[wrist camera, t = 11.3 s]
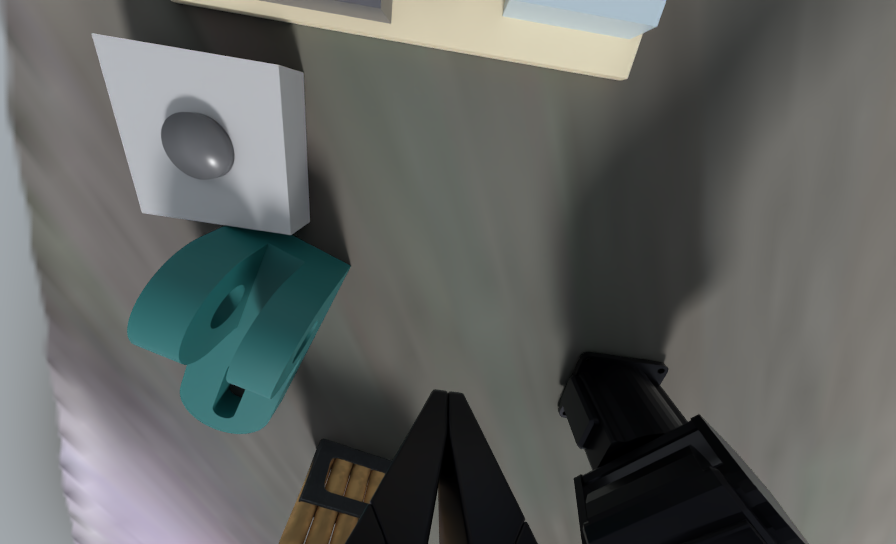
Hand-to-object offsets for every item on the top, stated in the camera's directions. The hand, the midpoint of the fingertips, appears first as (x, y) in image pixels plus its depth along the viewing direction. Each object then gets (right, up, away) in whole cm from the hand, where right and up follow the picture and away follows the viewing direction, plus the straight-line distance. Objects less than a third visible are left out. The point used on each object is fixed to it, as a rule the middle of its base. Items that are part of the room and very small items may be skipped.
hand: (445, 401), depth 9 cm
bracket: (-14, -1, +15) cm, 21 cm away
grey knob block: (-12, +11, +9) cm, 18 cm away
